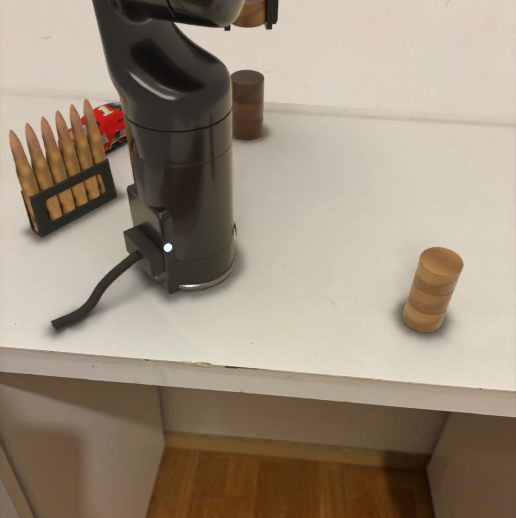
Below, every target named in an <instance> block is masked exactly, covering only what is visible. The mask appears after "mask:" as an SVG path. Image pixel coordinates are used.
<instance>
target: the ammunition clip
mask: <svg viewBox="0 0 516 518" xmlns="http://www.w3.org/2000/svg"><path fill="white" fill-rule="evenodd" d="M93 109H94V108H93V106H92V105H91V102H90V101H89V100H88V98H87V97H85V98H84V99H83V106H82V110H83V116H84V120H85V126H86V136H85V132H84V129H83V126H82V122H81V116H80V113H79V111H78V109H77V108H76V106H75V105H74V104H73V103H71V104H70V106H69V122H70V128H72V135H73V143H72V140H71V137H70V134H69V131H68V129H69V128H68V125H67V122H66V120H65V118H64V116H63V113H61V111H60V110H59V109H57V110H56V111H55V116H54V117H55V119H54V121H55V130H56V135H57V141H58V140H59V146H60V151H59V148H58V142H57V141H56V137H55V134H54V132H53V129H52V127H51V125H50V123H49V121H48V120H47V118H45V116H41V118H40V132H41V138H42V141H43V146H44V152H45V154H44V152H43V149H42V147H41V144H40V141H39V139H38V136H37V133H36V132H35V130H34V129H33V127H32V126H31V125H30V123H29V122H26V123H25V127H24V134H25V142H26V145H27V149H28V153H29V157H30V158H29V159H30V162H29V159H28V157H27V154H26V152H25V149H24V145H23V144H22V141H21V140H20V138H19V137H18V134H17V133H16V132H14V130H13V129H9V133H8V140H9V147H10V151H11V155H12V158H13V162H14V166H15V168H14V169H15V173H16V177H17V180H18V183H19V185H20V186H19V187H20V189H21V190H20V194H21V197H22V198H21V199H22V201H23V204H24V208H25V212H26V215H27V218H28V221H29V225H30V229H31V231H32V232H33V233H35V234H36V235H38V236H39V237H40V238H45V237H46V236H48V235H49V234H52V233H53V232H55V231H57V230H58V229H61V228H62V227H65V226H66V225H68V224H70V223H72V222H73V221H76V220H77V219H79V218H81V217H83V216H85V215H87V214H89V213H91V212H92V211H94V210H96V209H97V208H99V207H101V206H103V205H105V204H107V203H108V202H110V201H112V200H115V199H116V198H117V197H118V193H117V189H116V185H115V181H114V177H113V176H114V175H113V172H112V168H111V165H110V161H109V158H107V157H106V153H105V151H104V147H103V142H102V137H101V134H100V132H99V129H98V126H97V122H96V118H95V115H94V111H93Z"/></svg>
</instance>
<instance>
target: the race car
mask: <svg viewBox="0 0 516 518" xmlns="http://www.w3.org/2000/svg"><path fill="white" fill-rule="evenodd" d="M92 109H93V111H94V115H95V118H96V122H97V126H98V129H99V132H100V134H101V137H102V142H103V147H104V151H105V152H107V151H109V150H111V149H113V148H115V147H117V146H119V145H120V144H122V143H124V142H127V136H126V130H125V124H124V118H123V112H122V108H121V102H120V101H111V102H107V103H104V104H101V105H99V106H97V107H95V108H92ZM80 119H81V122H82V126H83V129H84V132H85V136H86V126H85V120H84V115H83V116H81V117H80ZM68 131H69V134H70V137H71V140H72V143H73V135H72V128H71V127H70V128H68ZM57 146H58V149H59V151H60V146H59V140H58V139H57Z"/></svg>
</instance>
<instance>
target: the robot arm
mask: <svg viewBox="0 0 516 518" xmlns="http://www.w3.org/2000/svg"><path fill="white" fill-rule="evenodd" d="M244 3H245V0H91V4H92V8H93V11H94V16H95V20H96V24H97V29H98V34H99V37H100V42H101V46H102V47H101V48H102V51H103V57H104V61H105V65H106V69H107V73H108V76H109V78H110V81H111V83H112V85H113V87H114V89H115V91H116V93H117V94H118V97H119V102H121V108H122V112H123V118H124V124H125V130H126V136H127V140H126V142H127V148H128V154H129V161H130V165H131V166H130V167H131V174H132V179H133V182H132V183H131V184H128V185H127V186H126V193H127V199H128V204H129V210H130V216H131V222H132V227H130V228H128V229H125V230H123V231H122V234H123V238H124V244H125V249H126V250H125V251H126V252H127V253H128V255H127V256H126V257H125V258H123V259H122V260H121V261H120V262H119V263H117V264H116V265H115V266H114V267H112V268H111V269H110V270H109V271H108V272H107V273H106V274H105V275H104V276H103V277H102V278H101V279H100V280H99V282H98V283H97V284H96V285H95V287H94V289H92V291H91V294H90V295H89V296H88V298H87V299H86V301H85V302H84V303H83V304H81V306H80V307H78V308H77V309H75V310H74V311H72V312H70V313H67V314H64V315H62V316H59V317H57V318H55V319H52V320H50V323H51V326H52V328H53V329H54V331H58V330H59V329H62V328H63V327H67V326H69V325H71V324H74V323H76V322H78V321H80V320H82V319H83V318H85V317H86V316H87V315H89V314H90V313H91V312H92V311H93V310H94V309H95V307H96V306H97V305H98V303H99V301H100V300H101V298H102V296H103V295H104V293H105V292H106V291H107V289H108V288H109V287H110V286H111V285H112V284H113V283H114V282H115V281H116V280H118V279H119V277H121V276H122V275H123V274H124V273H125V272H127V271H128V270H129V269H130V268H132V267H133V266H134V265H135V264H136V263H138V264H139V265H140V267H142V268H143V270H144V271H145V272H146V273H147V274H148V276H150V277H151V278H152V279H153V280H154V281H156V282H157V283H158V284H159V286H161V287H162V288H163V290H165V291H166V292H167V294H169V295H171V294H174V293H177V292H180V291H184V292H185V291H187V292H189V291H190V292H191V291H193V292H194V291H200V290H205V289H209V288H211V287H214V286H217V285H218V284H220V283H222V282H223V281H224V280H226V279H227V278H228V277H229V276H230V275H231V274H232V272H233V271H234V268H235V265H236V250H235V236H236V238H237V237H238V233H237V232H238V231H237V224H236V222H235V212H234V208H235V207H234V206H235V205H234V158H233V157H234V156H233V155H234V153H233V152H234V150H233V147H234V146H233V135H232V83H231V77H230V76H231V74H230V71H229V69H228V67H227V65H226V64H224V62H223V61H222V60H221V59H220V58H219V57H217V56H216V55H214V54H213V53H212V52H210V51H208V50H207V49H205V48H203V47H202V46H200V45H199V44H197V43H196V42H195V41H194V40H192V39H191V38H190V37H188V36H187V34H185V33H184V32H183V30H181V28H179V25H177V24H181V25H188V26H192V27H193V26H194V27H200V28H201V27H202V28H209V29H223V30H224V32H231V29H232V28H231V25H232V23H233V22H234V21H235V20H236V19H237V17H238V16H239V14H240V12H241V10H242V8H243V5H244ZM278 20H279V0H266V22H265V23H264V24H263V25H264V28H265V30H266V31H272V30H273V25H277V22H278Z"/></svg>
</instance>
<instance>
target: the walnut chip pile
mask: <svg viewBox="0 0 516 518" xmlns="http://www.w3.org/2000/svg"><path fill="white" fill-rule="evenodd" d="M230 77H231V83H232V137H233V138H235V139H237V140H243V141H253V140H256V139H258V138H260V137H261V136H262V135H263V133H264V107H265V106H264V104H265V75H264V74H263V73H262V72H259V71H257V70H253V69H239V70H236V71H234V72H232V73H231V74H230Z"/></svg>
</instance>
